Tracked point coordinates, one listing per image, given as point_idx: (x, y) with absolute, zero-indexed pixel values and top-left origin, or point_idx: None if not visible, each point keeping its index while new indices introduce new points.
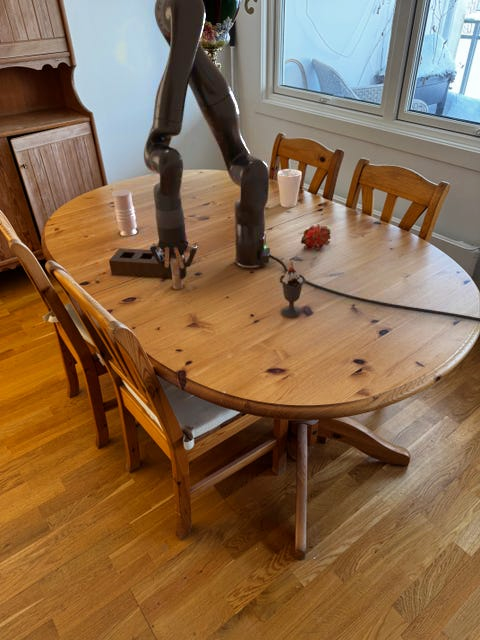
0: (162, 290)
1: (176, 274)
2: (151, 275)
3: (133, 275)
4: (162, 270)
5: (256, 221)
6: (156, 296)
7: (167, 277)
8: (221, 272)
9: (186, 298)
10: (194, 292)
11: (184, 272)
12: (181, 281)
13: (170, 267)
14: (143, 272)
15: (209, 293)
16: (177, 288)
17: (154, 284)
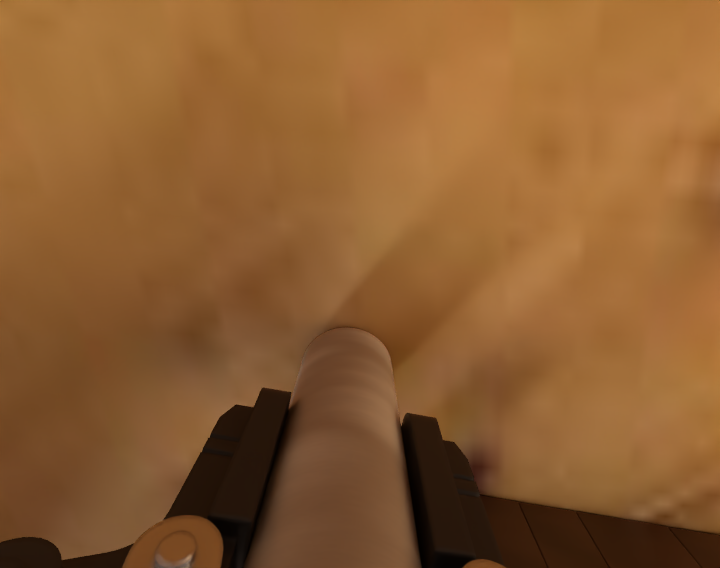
0: (484, 325)
1: (331, 433)
2: (575, 526)
3: (709, 539)
4: None
5: None
6: (542, 227)
7: None
8: (38, 533)
9: (247, 166)
10: (189, 270)
11: (209, 457)
12: (298, 382)
13: (423, 563)
14: (652, 559)
15: (43, 242)
16: (348, 329)
17: (549, 419)
